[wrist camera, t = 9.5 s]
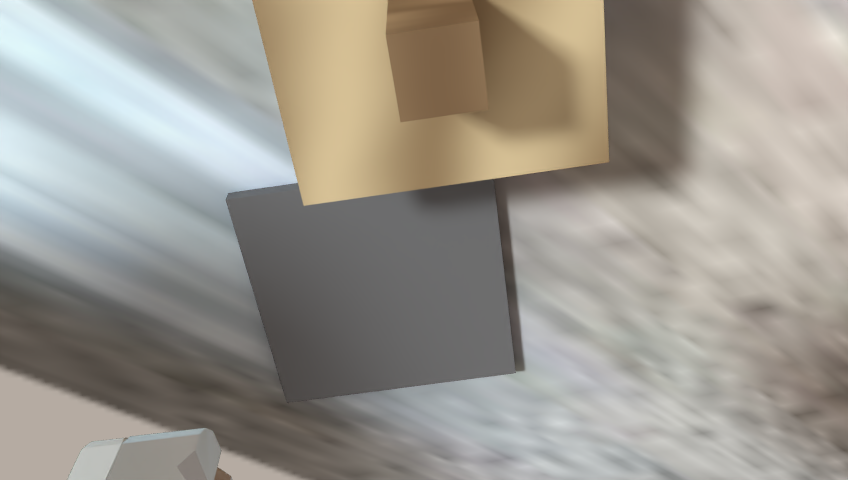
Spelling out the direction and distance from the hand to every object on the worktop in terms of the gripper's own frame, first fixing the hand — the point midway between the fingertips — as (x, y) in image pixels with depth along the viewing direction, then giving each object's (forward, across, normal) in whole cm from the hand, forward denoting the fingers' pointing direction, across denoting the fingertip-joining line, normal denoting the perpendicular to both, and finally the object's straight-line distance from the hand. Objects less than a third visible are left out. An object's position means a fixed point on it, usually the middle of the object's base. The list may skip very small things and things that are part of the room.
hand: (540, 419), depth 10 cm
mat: (+23, +4, +12) cm, 26 cm away
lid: (+18, +1, 0) cm, 18 cm away
